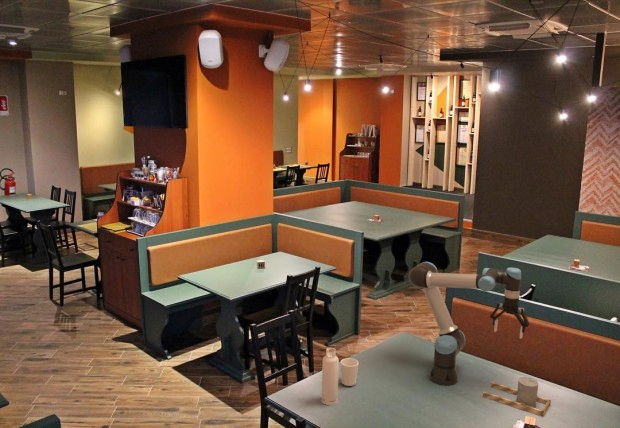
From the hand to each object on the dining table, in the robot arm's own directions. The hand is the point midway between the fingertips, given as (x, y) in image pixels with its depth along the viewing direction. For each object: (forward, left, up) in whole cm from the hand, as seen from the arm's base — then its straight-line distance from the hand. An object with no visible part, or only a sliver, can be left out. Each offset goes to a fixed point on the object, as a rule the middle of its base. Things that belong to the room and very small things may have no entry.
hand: (508, 334), depth 292 cm
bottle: (-64, -75, -29) cm, 103 cm away
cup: (-66, -54, -29) cm, 90 cm away
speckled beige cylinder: (+16, -14, -29) cm, 36 cm away
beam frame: (+11, -14, -29) cm, 34 cm away
